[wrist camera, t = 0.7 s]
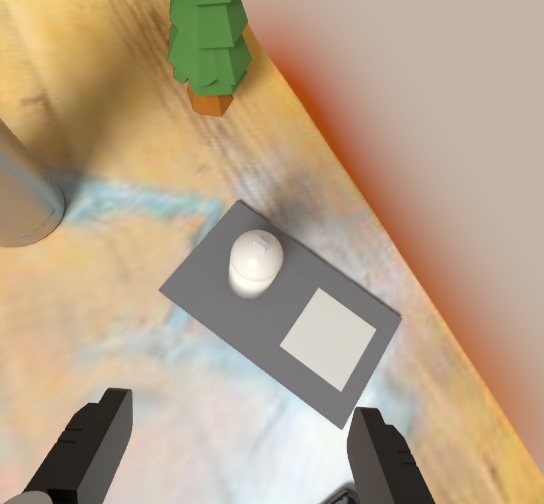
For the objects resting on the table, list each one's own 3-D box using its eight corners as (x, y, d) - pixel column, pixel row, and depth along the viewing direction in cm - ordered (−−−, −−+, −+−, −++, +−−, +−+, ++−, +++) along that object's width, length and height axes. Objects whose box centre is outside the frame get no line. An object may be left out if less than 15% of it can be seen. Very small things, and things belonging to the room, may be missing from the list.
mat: (159, 291, 37) (158, 289, 36) (237, 202, 42) (237, 200, 41) (340, 428, 35) (342, 430, 35) (399, 319, 40) (402, 318, 40)
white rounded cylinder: (219, 282, 38) (219, 247, 27) (245, 250, 39) (255, 205, 29) (254, 308, 37) (268, 282, 27) (278, 274, 39) (301, 238, 28)
